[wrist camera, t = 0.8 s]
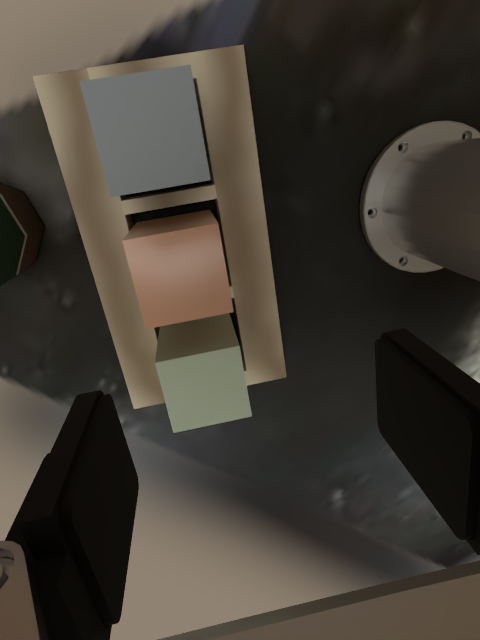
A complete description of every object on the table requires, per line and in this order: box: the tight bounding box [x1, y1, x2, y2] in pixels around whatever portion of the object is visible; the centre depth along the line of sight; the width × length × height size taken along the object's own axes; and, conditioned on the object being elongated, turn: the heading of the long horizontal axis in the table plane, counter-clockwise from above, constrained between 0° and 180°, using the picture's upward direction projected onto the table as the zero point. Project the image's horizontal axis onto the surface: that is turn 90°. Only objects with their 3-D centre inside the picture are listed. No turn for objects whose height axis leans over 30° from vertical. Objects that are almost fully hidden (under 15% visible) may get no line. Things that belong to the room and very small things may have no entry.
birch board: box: [33, 45, 286, 409], centre depth 33 cm, size 14×26×3 cm, turn 9°
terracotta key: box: [122, 209, 234, 329], centre depth 28 cm, size 6×6×8 cm
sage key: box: [155, 313, 252, 433], centre depth 31 cm, size 6×6×8 cm
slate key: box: [79, 65, 211, 197], centre depth 25 cm, size 6×6×8 cm
